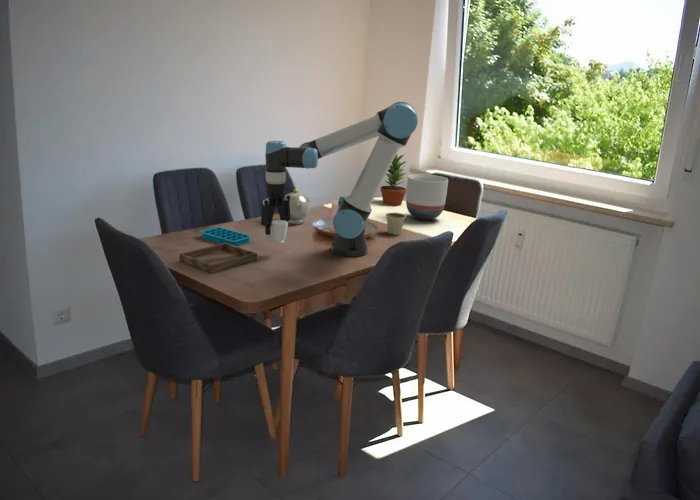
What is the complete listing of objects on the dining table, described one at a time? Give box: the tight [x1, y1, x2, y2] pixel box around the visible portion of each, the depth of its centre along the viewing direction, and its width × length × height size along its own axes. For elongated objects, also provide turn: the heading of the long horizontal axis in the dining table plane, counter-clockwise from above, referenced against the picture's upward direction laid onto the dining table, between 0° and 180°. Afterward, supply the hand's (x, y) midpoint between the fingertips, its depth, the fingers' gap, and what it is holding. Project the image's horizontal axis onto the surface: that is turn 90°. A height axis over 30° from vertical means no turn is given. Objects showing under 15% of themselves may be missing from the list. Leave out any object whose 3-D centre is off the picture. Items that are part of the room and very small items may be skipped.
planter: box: [405, 173, 449, 221], centre depth 304 cm, size 20×20×21 cm
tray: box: [178, 243, 258, 275], centre depth 223 cm, size 18×22×3 cm
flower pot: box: [385, 212, 407, 236], centre depth 276 cm, size 9×9×9 cm
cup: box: [271, 219, 289, 244], centre depth 233 cm, size 7×10×8 cm
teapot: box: [287, 188, 311, 226], centre depth 283 cm, size 18×14×16 cm
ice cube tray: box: [199, 226, 253, 247], centre depth 250 cm, size 12×20×3 cm, turn 57°
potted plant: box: [379, 153, 407, 207], centre depth 332 cm, size 15×15×30 cm
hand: (276, 240), depth 234 cm, fingers closed on cup, 6 cm apart
